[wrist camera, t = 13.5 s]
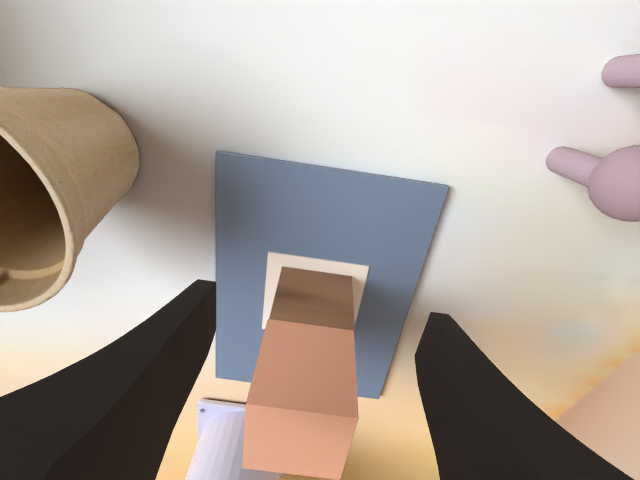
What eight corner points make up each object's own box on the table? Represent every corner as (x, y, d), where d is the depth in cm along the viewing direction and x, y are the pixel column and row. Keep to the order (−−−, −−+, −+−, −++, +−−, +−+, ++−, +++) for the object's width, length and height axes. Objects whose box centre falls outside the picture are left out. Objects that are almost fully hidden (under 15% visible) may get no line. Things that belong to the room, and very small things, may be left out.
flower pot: (92, 246, 24) (-23, 343, 16) (-39, 117, 20) (-268, 165, 12) (202, 176, 21) (126, 253, 13) (75, 13, 17) (-129, -8, 10)
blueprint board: (378, 395, 29) (378, 400, 29) (217, 373, 29) (215, 378, 28) (447, 184, 21) (449, 188, 20) (217, 150, 20) (215, 153, 20)
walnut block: (340, 328, 25) (340, 388, 21) (276, 319, 25) (263, 378, 21) (351, 276, 23) (355, 330, 19) (282, 266, 23) (268, 319, 19)
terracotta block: (339, 388, 21) (340, 480, 17) (262, 378, 21) (242, 467, 17) (353, 330, 19) (358, 418, 14) (267, 318, 19) (246, 403, 14)
